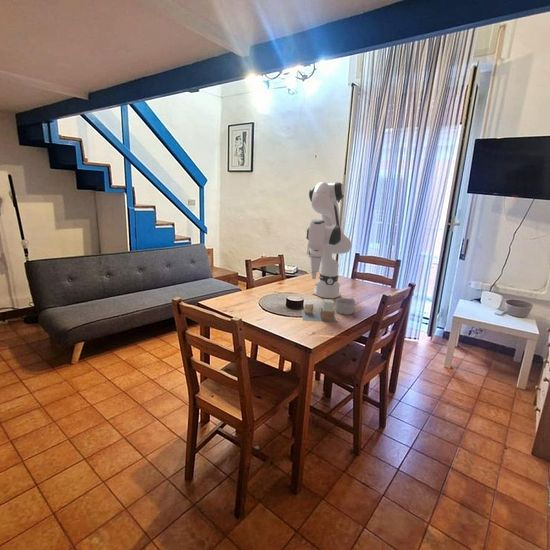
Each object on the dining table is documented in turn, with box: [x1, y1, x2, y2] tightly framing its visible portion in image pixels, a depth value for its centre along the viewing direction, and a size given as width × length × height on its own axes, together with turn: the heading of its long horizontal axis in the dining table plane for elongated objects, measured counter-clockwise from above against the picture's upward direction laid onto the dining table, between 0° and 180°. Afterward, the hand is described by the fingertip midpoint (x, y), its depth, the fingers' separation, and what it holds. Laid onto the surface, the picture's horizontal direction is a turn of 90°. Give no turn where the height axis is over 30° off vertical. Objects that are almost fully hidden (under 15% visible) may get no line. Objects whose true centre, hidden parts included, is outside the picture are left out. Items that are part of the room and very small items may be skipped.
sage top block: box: [321, 298, 335, 312], centre depth 172 cm, size 5×5×5 cm
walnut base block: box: [320, 307, 335, 321], centre depth 173 cm, size 6×6×5 cm
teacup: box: [335, 297, 356, 316], centre depth 186 cm, size 14×11×8 cm
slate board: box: [300, 310, 338, 323], centre depth 177 cm, size 14×18×1 cm
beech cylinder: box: [304, 302, 314, 315], centre depth 180 cm, size 4×4×5 cm
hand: (313, 276), depth 176 cm, fingers open, 8 cm apart
